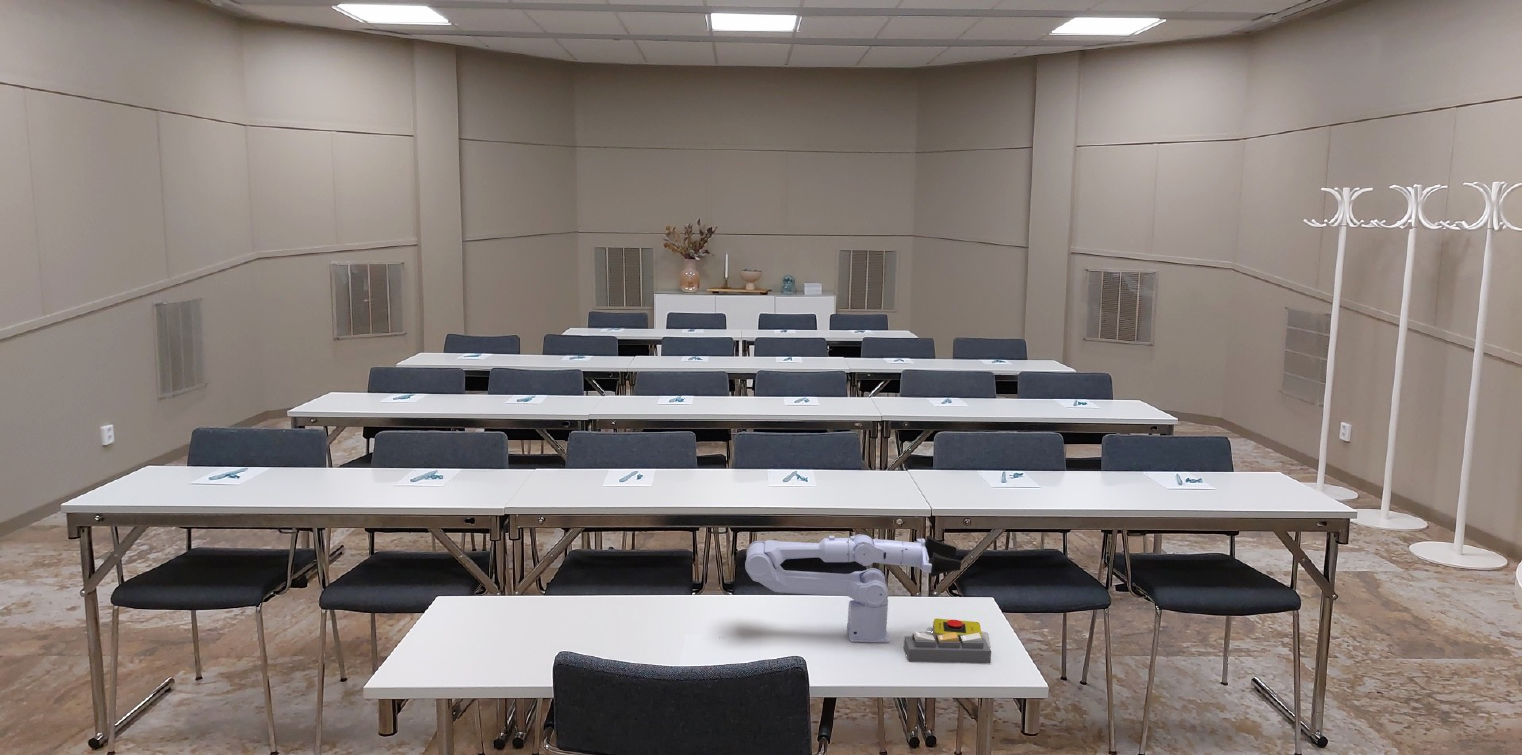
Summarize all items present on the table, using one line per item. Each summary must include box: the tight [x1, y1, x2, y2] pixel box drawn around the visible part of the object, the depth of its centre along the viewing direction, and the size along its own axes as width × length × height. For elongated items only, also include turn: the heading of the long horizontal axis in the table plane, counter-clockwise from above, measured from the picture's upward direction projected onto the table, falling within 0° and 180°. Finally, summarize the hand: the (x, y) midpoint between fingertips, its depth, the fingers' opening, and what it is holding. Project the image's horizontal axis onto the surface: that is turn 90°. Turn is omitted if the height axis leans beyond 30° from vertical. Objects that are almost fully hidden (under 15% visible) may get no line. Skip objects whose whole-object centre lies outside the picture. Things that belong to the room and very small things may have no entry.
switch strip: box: [903, 632, 992, 664], centre depth 249 cm, size 19×7×4 cm, turn 91°
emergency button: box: [926, 618, 992, 649], centre depth 259 cm, size 9×4×15 cm
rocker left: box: [913, 630, 935, 641], centre depth 249 cm, size 4×3×1 cm, turn 92°
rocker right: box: [960, 633, 982, 642], centre depth 249 cm, size 4×3×1 cm, turn 91°
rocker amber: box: [937, 632, 958, 642], centre depth 249 cm, size 4×3×1 cm, turn 91°
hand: (958, 558), depth 255 cm, fingers open, 7 cm apart
